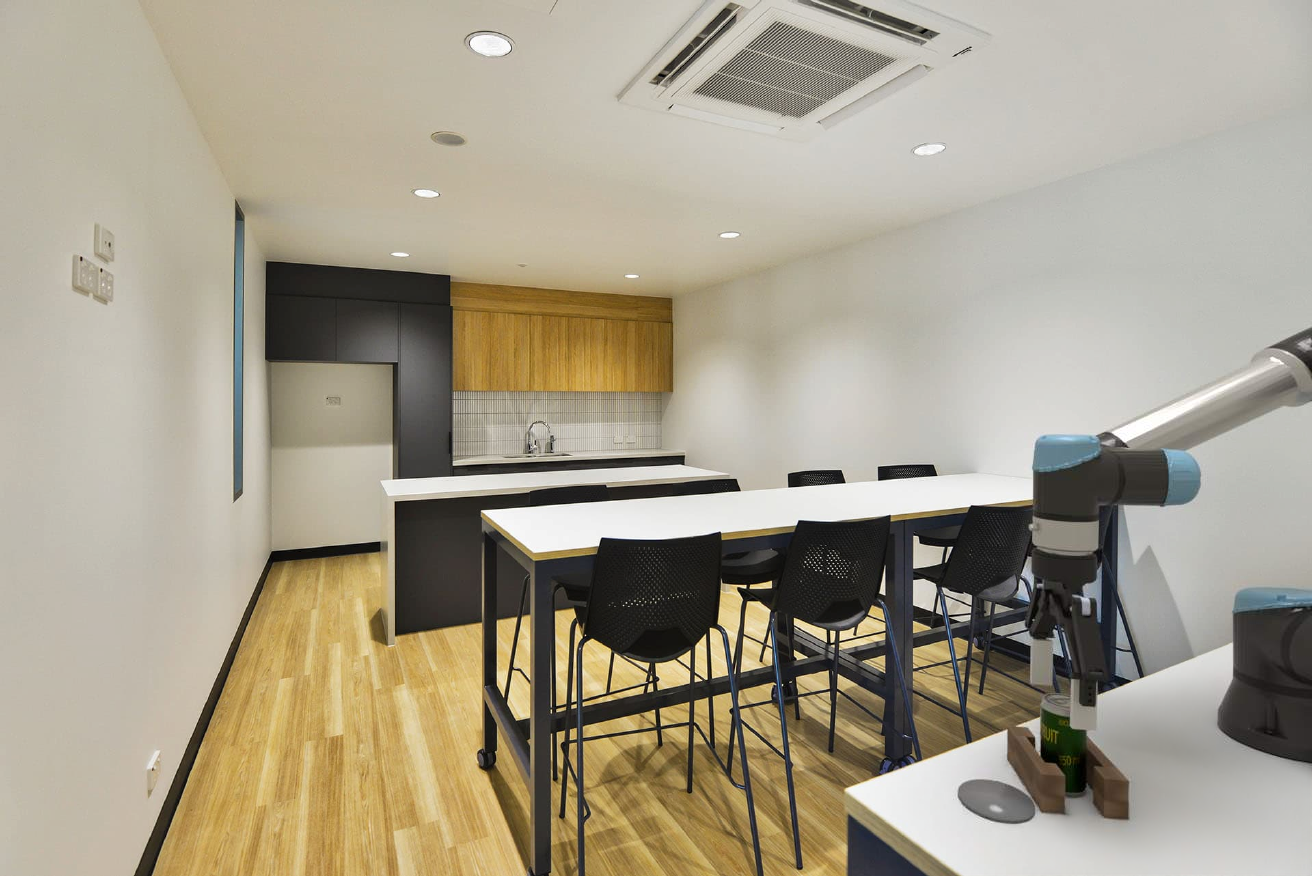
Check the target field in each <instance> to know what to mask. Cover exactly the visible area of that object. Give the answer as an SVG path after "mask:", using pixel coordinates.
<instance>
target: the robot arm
mask: <svg viewBox="0 0 1312 876" xmlns="http://www.w3.org/2000/svg"><path fill="white" fill-rule="evenodd" d="M1308 403H1312V326H1311V327H1308V328H1307V329H1304V330H1301V331H1298V332H1297V333H1296V334H1293V335H1291V336H1289V337H1287V338H1284V339H1283V340H1280V341H1278V342H1276V343H1274V344H1272V345H1270V346H1268V347H1265V348H1263V349H1262V350H1259V351H1257V352H1256V353H1255V354H1254V355H1253V356H1252V357H1251V359H1250V362H1249V363H1248V364H1246V365H1244V366H1242V367H1240V368H1238V369H1237V368H1236V369H1235V370H1233V371H1232V372H1229V373H1227V374H1224V375H1222V376H1221V377H1219V378H1216V379H1214V380H1212V381H1210V382H1207V383H1205V384H1203V385H1200V386H1199V387H1197V388H1195V389H1193V390H1190V391H1189V392H1186V393H1185V394H1182V395H1180V396H1178V397H1176V398H1174V399H1171V400H1169V401H1167V402H1166V403H1163V404H1160V405H1158V406H1157V407H1154V408H1153V409H1150V410H1148V411H1146V412H1144V413H1142V414H1140V415H1137V416H1135V417H1133V418H1131V419H1129V420H1127V421H1125V422H1123V423H1121V424H1118V425H1116V426H1114V427H1112V428H1110V429H1107V430H1106V431H1104V432H1101V433H1098V434H1096V435H1093V434H1061V433H1060V434H1058V433H1057V434H1043V435H1041V436H1039V437H1037V439H1036V440H1035V443H1034V450H1033V458H1032V459H1033V461H1032V466H1031V470H1032V523H1030V524H1028V530H1030V531H1031V532H1032V533H1031V534H1032V535H1031V536H1032V537H1031V538H1032V541H1031V542H1032V544H1033V545H1034V546H1036V547H1034V548H1032V549H1031V567H1030V568H1031V569H1030V570H1031V571H1030V572H1031V574H1032V575H1033V587H1032V591H1031V595H1030V599H1029V604H1028V608H1027V612H1026V616H1025V620H1024V627H1025V629H1027V630H1028V633H1029V634H1028V635H1029V637H1031V639H1030V665H1029V666H1030V667H1029V668H1030V669H1029V673H1030V676H1029V683H1030V684H1031V685H1036V686H1037V685H1038V686H1050V687H1052V686H1053V674H1054V673H1053V672H1054V671H1053V667H1054V665H1053V664H1054V662H1053V661H1054V641H1053V640H1052V639H1056V637H1055V633H1054V630H1055V628H1056V626H1057V625H1058V627H1059V628H1061V629H1062V630H1063V633H1064V638H1065V641H1066V645H1067V646H1066V647H1067V649H1068V653H1069V657H1070V662H1071V664H1072V668H1073V671H1074V672H1071V673H1070V674H1069V675H1068V677H1069V679H1070V696H1071V703H1070V727H1071V728H1072V729H1081V730H1087V731H1094V732H1095V731H1097V725H1098V724H1097V722H1098V720H1097V719H1098V717H1097V716H1098V714H1097V713H1098V682H1108V681H1109V674H1108V667H1107V662H1106V657H1105V652H1104V646H1103V641H1102V636H1101V631H1100V626H1099V625H1100V624H1099V619H1098V603H1097V602H1098V601H1097V599H1096V598H1095V597H1085V595H1084V589H1083V587H1084V586H1085V585H1087V584H1088V585H1089V584H1093V583H1094V582H1096V581H1097V578H1098V556H1097V555H1096V553H1094V552H1096V551H1097V550H1098V549H1099V531H1100V530H1099V528H1100V527H1099V526H1100V525H1099V524H1100V523H1099V522H1100V520H1099V513H1100V511H1099V510H1100V506H1102V507H1103V506H1106V507H1107V506H1137V507H1138V506H1145V507H1147V506H1149V507H1150V506H1152V507H1153V506H1154V507H1160V508H1164V507H1167V506H1181V505H1186V504H1188V503H1190V502H1192V501H1193V500H1194V499H1195V498H1196V497H1197V496H1198V494H1199V491H1200V489H1201V486H1202V485H1201V484H1202V482H1201V481H1202V480H1201V477H1202V471H1201V468H1200V466H1199V464H1198V462H1197V460H1196V459H1195V458H1194V457H1193V455H1191V454H1190V453H1188V452H1187V451H1188V450H1191V449H1193V448H1195V447H1197V446H1199V445H1202V444H1203V443H1206V442H1208V441H1211V440H1212V439H1215V438H1217V437H1219V436H1222V435H1224V434H1226V433H1228V432H1230V431H1232V430H1234V429H1236V428H1239V427H1241V426H1242V425H1245V424H1248V423H1250V422H1251V421H1254V420H1256V419H1259V418H1260V417H1263V416H1265V415H1267V414H1269V413H1272V412H1274V411H1275V410H1278V409H1280V408H1282V407H1289V408H1297V407H1301V406H1305V405H1307V404H1308ZM1231 614H1232V678H1231V679H1232V680H1231V682H1230V683H1229V686H1228V687H1227V690H1226V692H1225V694H1224V696H1223V698H1222V701H1221V703H1220V705H1219V707H1218V709H1217V726H1218V727H1219V729H1220V730H1221V731H1222V732H1223V733H1225V734H1226V735H1227V736H1229V737H1230V738H1232V739H1234V740H1236V741H1238V742H1240V743H1241V744H1244V745H1247V746H1250V747H1251V748H1254V749H1257V750H1259V751H1262V752H1265V753H1269V754H1272V755H1276V756H1280V757H1283V758H1286V759H1287V758H1288V759H1291V760H1292V759H1293V760H1298V761H1303V762H1310V763H1312V589H1304V588H1292V587H1289V588H1288V587H1272V586H1271V587H1268V586H1267V587H1266V586H1265V587H1264V586H1261V587H1260V586H1258V587H1257V586H1256V587H1247V588H1246V587H1245V588H1242V589H1240V590H1239V591H1237V592H1236V593H1235V596H1234V603H1233V610H1232V611H1231Z"/></svg>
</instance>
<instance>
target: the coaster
mask: <svg viewBox="0 0 1312 876" xmlns="http://www.w3.org/2000/svg"><path fill="white" fill-rule="evenodd" d="M957 795H958V796H957V797H958V800H959V801H960V803H961V804H962V805H963V806H964V807H965V808H966V809H967V810H969V811H971V812H972V813H973V814H975V815H977V816H980V817H981V818H984V819H987V820H990V821H993V822H998V823H1002V824H1003V823H1004V824H1022V823H1026V822H1029V821H1030V820H1032V819H1033V818H1034V817H1035V814H1036V806H1035V805H1036V804H1035V802H1034V800H1032V797H1031V796H1029V795H1027V794H1026V793H1025V792H1024V791H1022V790H1020V789H1019V788H1017V787H1015V786H1013V785H1010V784H1008V783H1005V782H1001V781H998V780H993V779H984V778H981V779H980V778H976V779H969V780H965V781H964V782H962V783H961V784H960V785H959V786H958V789H957ZM1030 797H1031V798H1030Z"/></svg>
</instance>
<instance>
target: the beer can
mask: <svg viewBox="0 0 1312 876" xmlns="http://www.w3.org/2000/svg"><path fill="white" fill-rule="evenodd" d="M1041 698H1042V700H1041V703H1040V705H1039V706H1040V710H1039V711H1040V715H1039V717H1040V724H1039V725H1040V726H1039V729H1040V732H1039V734H1040V735H1039V736H1040V737H1039V739H1040V741H1039V743H1040V748H1039V750H1040V751H1039V752H1040V753H1039V755H1040V756H1041V758H1042V759H1043V760H1044V762H1045V763H1056V765H1057V766H1058V767H1059V769H1060V770H1061V771H1062V772H1063V774H1064V775H1065V798H1066V797H1068V798H1078V797H1082V796H1084V793H1085V792H1086V790H1087V786H1088V784H1087V736H1088V730H1081V729H1072V728H1071V727H1070V703H1071V694H1070V695H1069V694H1065V693H1059V692H1058V693H1057V692H1049V693H1045V694H1043V695H1042V697H1041Z"/></svg>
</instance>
